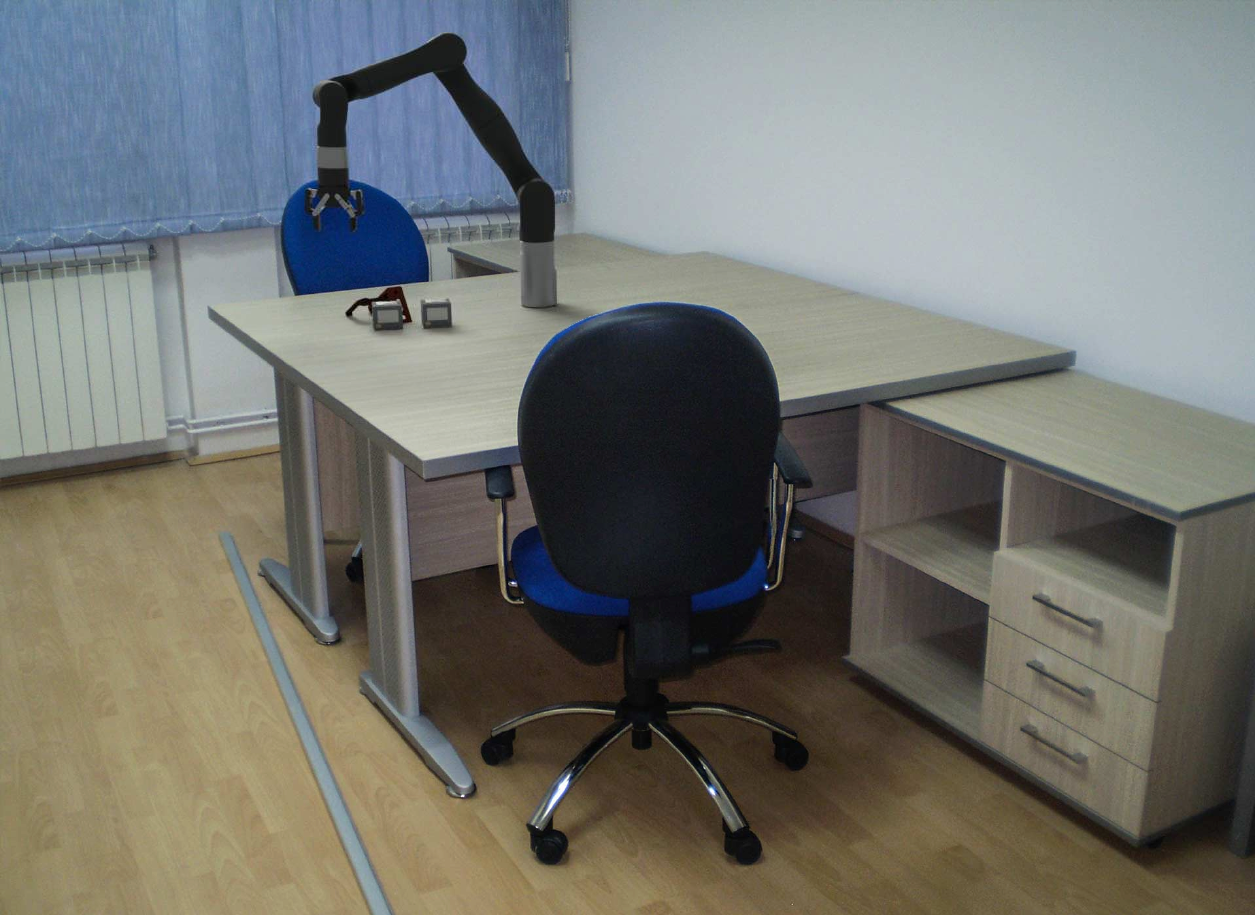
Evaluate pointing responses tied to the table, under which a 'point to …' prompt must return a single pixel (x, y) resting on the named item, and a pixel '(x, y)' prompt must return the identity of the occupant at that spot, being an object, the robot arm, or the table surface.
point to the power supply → (387, 315)
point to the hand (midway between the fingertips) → (335, 231)
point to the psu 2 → (436, 313)
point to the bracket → (386, 295)
